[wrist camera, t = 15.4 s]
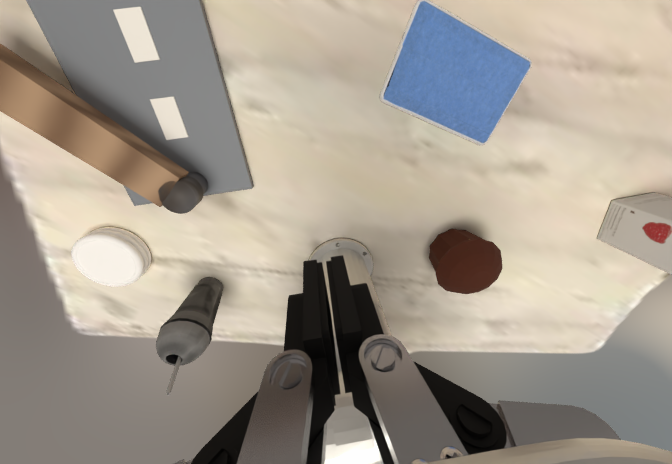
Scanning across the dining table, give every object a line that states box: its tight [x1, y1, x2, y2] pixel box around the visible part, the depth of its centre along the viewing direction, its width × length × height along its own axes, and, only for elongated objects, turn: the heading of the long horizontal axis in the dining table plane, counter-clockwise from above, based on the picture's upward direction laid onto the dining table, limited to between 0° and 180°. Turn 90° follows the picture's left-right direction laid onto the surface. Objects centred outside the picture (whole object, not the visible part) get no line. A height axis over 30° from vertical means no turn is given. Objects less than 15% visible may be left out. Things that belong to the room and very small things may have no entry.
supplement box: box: [597, 192, 672, 275], centre depth 45 cm, size 9×9×15 cm
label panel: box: [26, 0, 254, 206], centre depth 32 cm, size 26×18×4 cm
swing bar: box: [0, 44, 203, 214], centre depth 30 cm, size 26×5×3 cm, turn 48°
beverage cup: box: [156, 277, 223, 395], centre depth 40 cm, size 7×7×20 cm
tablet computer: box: [379, 0, 532, 145], centre depth 37 cm, size 19×13×1 cm, turn 69°
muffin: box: [429, 229, 502, 294], centre depth 46 cm, size 12×11×10 cm
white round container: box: [71, 227, 151, 287], centre depth 42 cm, size 10×10×4 cm
